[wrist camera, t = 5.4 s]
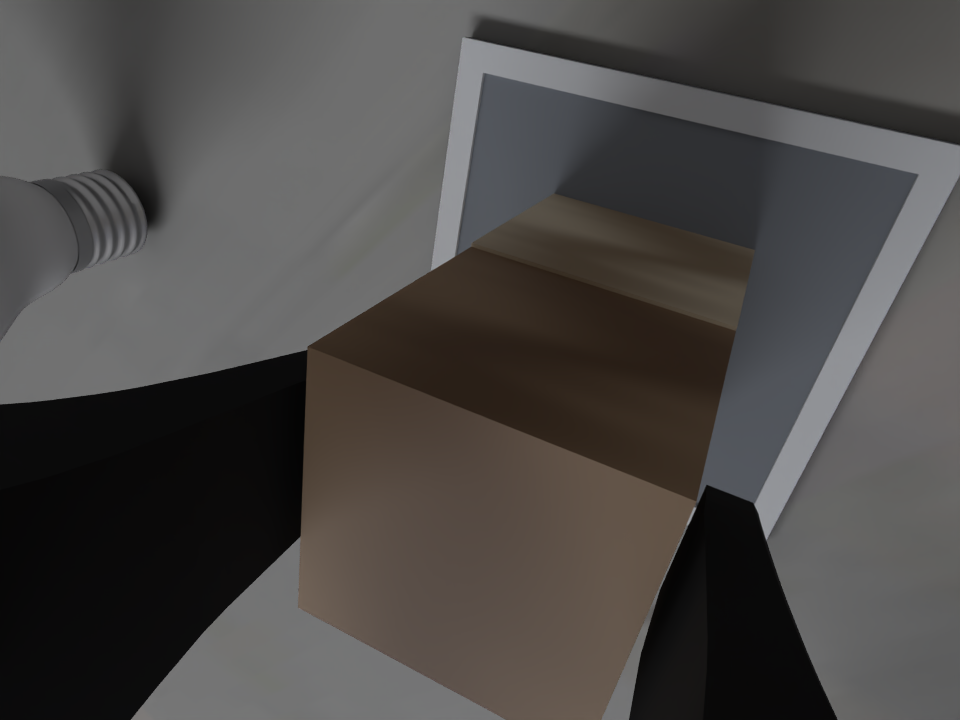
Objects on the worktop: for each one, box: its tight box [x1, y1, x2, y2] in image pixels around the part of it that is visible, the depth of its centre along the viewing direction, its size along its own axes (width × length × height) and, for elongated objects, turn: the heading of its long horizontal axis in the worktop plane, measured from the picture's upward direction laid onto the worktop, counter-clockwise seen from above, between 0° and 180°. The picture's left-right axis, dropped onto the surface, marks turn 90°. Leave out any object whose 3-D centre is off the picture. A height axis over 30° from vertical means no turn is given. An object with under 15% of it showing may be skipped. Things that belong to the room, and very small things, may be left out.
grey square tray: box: [431, 37, 960, 540], centre depth 15 cm, size 10×10×1 cm
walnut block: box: [298, 247, 736, 720], centre depth 10 cm, size 4×4×4 cm
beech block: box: [471, 194, 755, 331], centre depth 13 cm, size 4×4×4 cm
